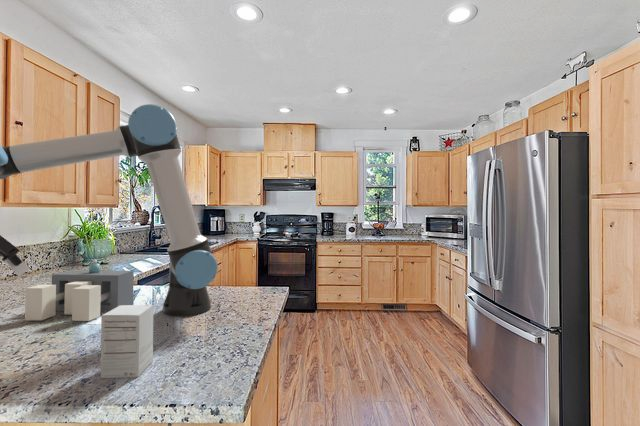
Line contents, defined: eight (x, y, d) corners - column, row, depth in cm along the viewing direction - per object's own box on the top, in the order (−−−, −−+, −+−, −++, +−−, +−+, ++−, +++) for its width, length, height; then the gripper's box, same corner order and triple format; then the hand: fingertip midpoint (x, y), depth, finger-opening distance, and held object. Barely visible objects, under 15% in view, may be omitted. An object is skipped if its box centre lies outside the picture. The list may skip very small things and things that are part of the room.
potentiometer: (101, 271, 114) (101, 259, 114) (95, 273, 111) (96, 260, 111) (93, 271, 114) (93, 259, 114) (87, 273, 111) (87, 260, 111)
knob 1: (75, 307, 110) (75, 279, 110) (41, 320, 96) (42, 288, 96) (60, 307, 110) (61, 279, 110) (24, 320, 96) (25, 288, 96)
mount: (133, 304, 117) (133, 270, 117) (107, 316, 102) (107, 278, 102) (71, 303, 117) (72, 269, 117) (37, 315, 102) (38, 277, 102)
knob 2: (116, 308, 110) (117, 280, 110) (88, 320, 96) (89, 288, 96) (101, 308, 110) (102, 279, 110) (72, 320, 96) (72, 288, 96)
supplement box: (118, 362, 71) (119, 304, 71) (153, 361, 72) (154, 304, 72) (98, 379, 64) (100, 314, 64) (138, 378, 64) (139, 314, 65)
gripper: (-109, 211, 77) (-42, 272, 90) (-34, 223, 71) (27, 286, 84) (-73, 193, 82) (-14, 253, 95) (0, 203, 76) (52, 264, 90)
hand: (5, 268), depth 90 cm, fingers open, 13 cm apart
